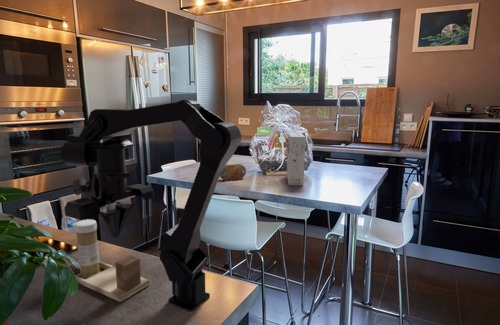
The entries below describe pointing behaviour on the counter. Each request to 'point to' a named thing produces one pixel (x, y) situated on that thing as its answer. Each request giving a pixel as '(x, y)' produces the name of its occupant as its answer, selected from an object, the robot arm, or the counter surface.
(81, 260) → the sprinkles bottle
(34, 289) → the counter surface
